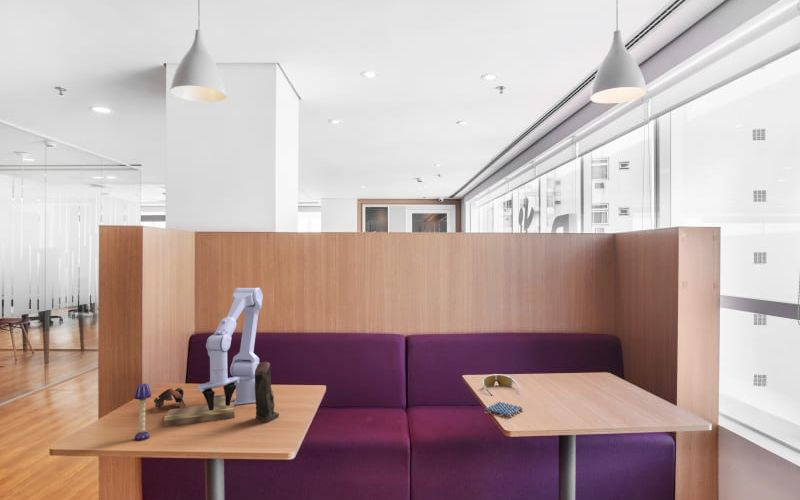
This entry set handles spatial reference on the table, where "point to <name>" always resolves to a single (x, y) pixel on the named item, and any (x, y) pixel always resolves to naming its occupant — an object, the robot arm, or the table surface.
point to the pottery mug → (170, 397)
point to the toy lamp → (142, 410)
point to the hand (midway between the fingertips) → (219, 407)
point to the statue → (264, 393)
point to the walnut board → (197, 414)
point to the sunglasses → (501, 379)
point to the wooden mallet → (219, 402)
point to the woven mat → (503, 410)
